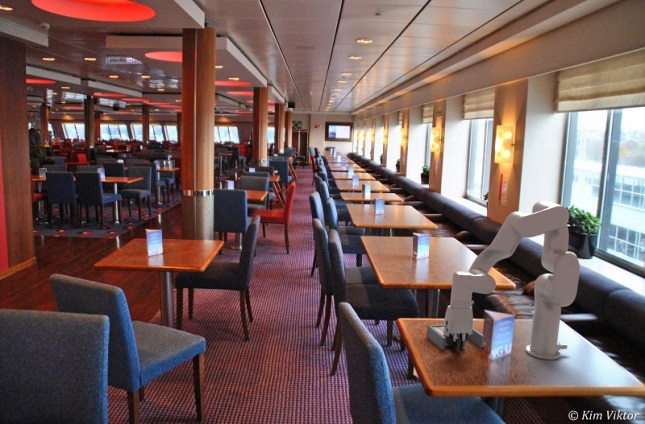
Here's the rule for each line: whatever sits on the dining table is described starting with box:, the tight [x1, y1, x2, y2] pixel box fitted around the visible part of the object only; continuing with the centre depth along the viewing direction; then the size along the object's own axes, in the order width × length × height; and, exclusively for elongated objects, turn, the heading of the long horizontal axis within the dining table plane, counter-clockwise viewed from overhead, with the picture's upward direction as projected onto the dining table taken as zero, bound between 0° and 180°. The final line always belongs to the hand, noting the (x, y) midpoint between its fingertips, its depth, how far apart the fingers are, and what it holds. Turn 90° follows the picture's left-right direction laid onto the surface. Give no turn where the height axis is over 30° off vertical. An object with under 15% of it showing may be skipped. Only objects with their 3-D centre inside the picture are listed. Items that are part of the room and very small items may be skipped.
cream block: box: [433, 327, 461, 352], centre depth 210 cm, size 6×16×6 cm, turn 14°
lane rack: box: [426, 323, 485, 351], centre depth 214 cm, size 18×14×5 cm
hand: (456, 349), depth 204 cm, fingers closed on cream block
